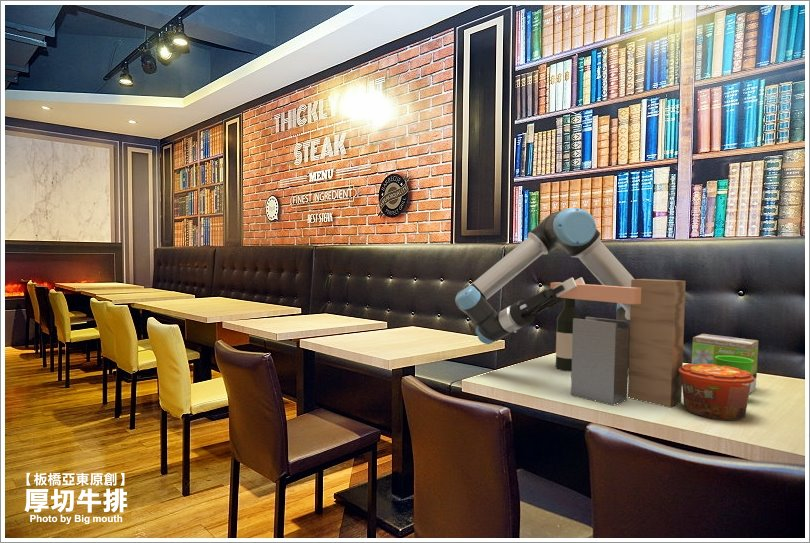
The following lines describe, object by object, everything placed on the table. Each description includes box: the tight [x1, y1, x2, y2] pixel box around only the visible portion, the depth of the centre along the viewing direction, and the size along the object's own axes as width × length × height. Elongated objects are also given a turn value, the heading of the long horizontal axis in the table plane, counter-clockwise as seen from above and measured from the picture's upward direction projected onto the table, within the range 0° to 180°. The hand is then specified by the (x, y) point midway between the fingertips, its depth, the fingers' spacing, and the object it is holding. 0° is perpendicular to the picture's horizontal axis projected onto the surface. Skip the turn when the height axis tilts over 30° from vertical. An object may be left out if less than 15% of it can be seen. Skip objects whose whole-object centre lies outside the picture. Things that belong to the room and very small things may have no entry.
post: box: [627, 278, 687, 408], centre depth 136 cm, size 7×11×32 cm, turn 41°
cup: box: [715, 355, 754, 372], centre depth 139 cm, size 9×9×11 cm
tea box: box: [690, 333, 759, 394], centre depth 151 cm, size 15×10×15 cm
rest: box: [570, 316, 629, 406], centre depth 137 cm, size 8×12×21 cm, turn 41°
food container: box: [678, 363, 754, 421], centre depth 126 cm, size 16×16×11 cm
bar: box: [549, 281, 641, 304], centre depth 138 cm, size 4×24×4 cm, turn 41°
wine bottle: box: [555, 298, 582, 372], centre depth 172 cm, size 8×8×30 cm
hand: (578, 281), depth 141 cm, fingers closed on bar, 4 cm apart
